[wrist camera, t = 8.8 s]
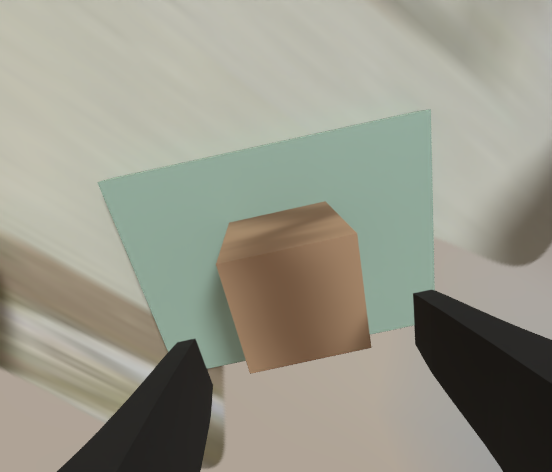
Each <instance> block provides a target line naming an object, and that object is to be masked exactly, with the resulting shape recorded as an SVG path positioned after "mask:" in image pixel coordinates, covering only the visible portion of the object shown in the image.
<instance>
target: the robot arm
mask: <svg viewBox="0 0 552 472" xmlns="http://www.w3.org/2000/svg"><path fill="white" fill-rule="evenodd" d="M413 305H414V325H415V344H416V346H417V348H418V350H419V351H420V353H421V355H422V357H423V359H424V360H425V362H426V364H427V365H428V367H429V369H430V370H431V372H432V374H433V375H434V377H435V378H436V379H437V381H438V382H439V383H440V385H441V386H442V388H443V389H444V390H445V392H446V393H447V394H448V396H449V397H450V398H451V400H452V401H453V402H454V404H455V405H456V406H457V408H458V409H459V411H460V412H461V413H462V414H463V416H464V417H465V418H466V420H467V421H468V422H469V424H470V425H471V427H472V428H473V429H474V431H475V432H476V433H477V435H478V436H479V437H480V439H481V440H482V441H483V443H484V444H485V445H486V447H487V448H488V450H489V451H490V453H491V454H492V456H493V457H494V458H495V460H496V461H497V463H498V464H499V466H500V467H501V469H502V470H503V472H552V340H550V339H548V338H545V337H543V336H540V335H537V334H535V333H532V332H529V331H527V330H525V329H522V328H520V327H517V326H515V325H512V324H510V323H508V322H505V321H503V320H500V319H498V318H496V317H493V316H491V315H489V314H487V313H484V312H482V311H480V310H478V309H475V308H473V307H471V306H469V305H467V304H464V303H462V302H460V301H458V300H455V299H453V298H451V297H449V296H446V295H444V294H442V293H439V292H437V291H434V290H427V291H422V292H417V293H413ZM212 390H213V384H212V382H211V379H210V376H209V374H208V371H207V368H206V366H205V363H204V360H203V357H202V355H201V352H200V349H199V347H198V344H197V341H196V339H190V340H186V341H181V342H177V343H176V344H175V345H174V346H173V348H172V349H171V350H170V351H169V352H168V353H167V354H166V356H165V357H164V358H163V359H162V360H161V361H160V363H159V364H158V365H157V366H156V367H155V369H154V370H153V371H152V372H151V373H150V375H149V376H148V377H147V378H146V379H145V380H144V381H143V383H142V384H141V385H140V386H139V387H138V388H137V390H136V391H135V392H134V393H133V394H132V395H131V397H130V398H129V399H128V400H127V401H126V402H125V403H124V404H123V405H122V406H121V407H120V409H119V410H118V411H117V412H116V413H115V414H114V415H113V416H112V417H111V418H110V419H109V420H108V422H107V423H106V424H105V425H104V426H103V427H102V428H101V429H100V430H99V431H98V432H97V433H96V434H95V435H94V436H93V437H92V438H91V439H90V440H89V441H88V442H87V443H86V444H85V445H84V447H82V448H81V449H80V450H79V451H78V452H77V453H76V454H75V455H74V456H73V457H72V458H71V459H70V460H69V461H68V462H67V463H66V464H65V465H63V467H61V468H60V469H59V470H58V471H57V472H200V470H201V465H202V460H203V455H204V450H205V445H206V439H207V434H208V429H209V423H210V417H211V405H212Z"/></svg>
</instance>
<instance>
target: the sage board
mask: <svg viewBox="0 0 552 472" xmlns="http://www.w3.org/2000/svg"><path fill="white" fill-rule="evenodd" d="M98 185H99V187H100V189H101V192H102V194H103V197H104V199H105V201H106V204H107V206H108V209H109V211H110V213H111V216H112V218H113V221H114V223H115V225H116V228H117V230H118V233H119V235H120V237H121V240H122V242H123V245H124V247H125V249H126V252H127V254H128V257H129V259H130V261H131V264H132V266H133V269H134V271H135V273H136V276H137V278H138V281H139V283H140V285H141V288H142V290H143V293H144V295H145V297H146V300H147V302H148V305H149V307H150V309H151V312H152V314H153V317H154V319H155V321H156V324H157V326H158V329H159V331H160V333H161V336H162V338H163V341H164V343H165V345H166V348H167V350H168V352H169V351H170V350H171V349H172V348H173V346H174V345H175V344H176V343H177V342H181V341H186V340H190V339H196V341H197V344H198V347H199V349H200V352H201V355H202V357H203V360H204V363H205V366H206V368H207V369H208V368H213V367H218V366H222V365H227V364H232V363H237V362H241V361H246V359H245V356H244V352H243V349H242V346H241V343H240V340H239V336H238V333H237V330H236V327H235V324H234V321H233V317H232V314H231V311H230V308H229V305H228V301H227V298H226V295H225V292H224V289H223V285H222V282H221V279H220V276H219V273H218V269H217V266H216V262H217V259H218V256H219V253H220V250H221V247H222V244H223V240H224V237H225V234H226V231H227V228H228V225H229V223H230V222H234V221H239V220H243V219H248V218H252V217H257V216H261V215H266V214H270V213H275V212H279V211H284V210H288V209H293V208H297V207H302V206H306V205H311V204H315V203H320V202H324V201H326V202H327V203H328V204H329V205H330V206H331V207H332V208H333V209H334V210H335V211H336V212H337V213H338V214H339V215H340V216H341V217H342V218H343V219H344V220H345V221H346V223H347V224H348V225H349V226H350V227H351V228H352V229H353V230H354V231H355V232H356V233H357V236H358V244H359V252H360V260H361V268H362V276H363V284H364V293H365V301H366V309H367V317H368V325H369V333H370V334H375V333H380V332H384V331H389V330H394V329H398V328H403V327H408V326H413V325H414V305H413V293H417V292H422V291H427V290H434V291H435V289H434V245H433V244H434V241H433V193H432V146H431V109H430V110H423V111H417V112H412V113H408V114H403V115H399V116H394V117H389V118H385V119H380V120H376V121H371V122H367V123H362V124H358V125H353V126H348V127H344V128H339V129H335V130H330V131H326V132H321V133H316V134H312V135H307V136H303V137H298V138H294V139H289V140H285V141H280V142H275V143H271V144H266V145H262V146H257V147H253V148H248V149H244V150H239V151H234V152H230V153H225V154H221V155H216V156H212V157H207V158H202V159H198V160H193V161H189V162H184V163H180V164H175V165H171V166H166V167H161V168H157V169H152V170H148V171H143V172H139V173H134V174H129V175H125V176H120V177H116V178H111V179H107V180H104V181H101V182H98Z"/></svg>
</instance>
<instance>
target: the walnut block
mask: <svg viewBox="0 0 552 472" xmlns="http://www.w3.org/2000/svg"><path fill="white" fill-rule="evenodd" d="M216 266H217V269H218V273H219V276H220V279H221V282H222V285H223V289H224V292H225V295H226V298H227V301H228V305H229V308H230V311H231V314H232V317H233V321H234V324H235V327H236V330H237V333H238V336H239V340H240V343H241V346H242V349H243V352H244V356H245V359H246V362H247V365H248V368H249V372H250V374H251V373H256V372H260V371H265V370H270V369H274V368H279V367H284V366H288V365H293V364H297V363H302V362H307V361H311V360H316V359H321V358H325V357H330V356H335V355H339V354H344V353H349V352H353V351H358V350H363V349H368V348H371V341H370V333H369V325H368V317H367V309H366V301H365V293H364V284H363V276H362V268H361V260H360V252H359V244H358V236H357V233H356V232H355V231H354V230H353V229H352V228H351V227H350V226H349V225H348V224H347V223H346V221H345V220H344V219H343V218H342V217H341V216H340V215H339V214H338V213H337V212H336V211H335V210H334V209H333V208H332V207H331V206H330V205H329V204H328V203H327V202H326V201H324V202H320V203H315V204H311V205H306V206H302V207H297V208H293V209H288V210H284V211H279V212H275V213H270V214H266V215H261V216H257V217H252V218H248V219H243V220H239V221H234V222H230V223H229V225H228V228H227V231H226V234H225V237H224V240H223V244H222V247H221V250H220V253H219V256H218V259H217V262H216Z"/></svg>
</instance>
